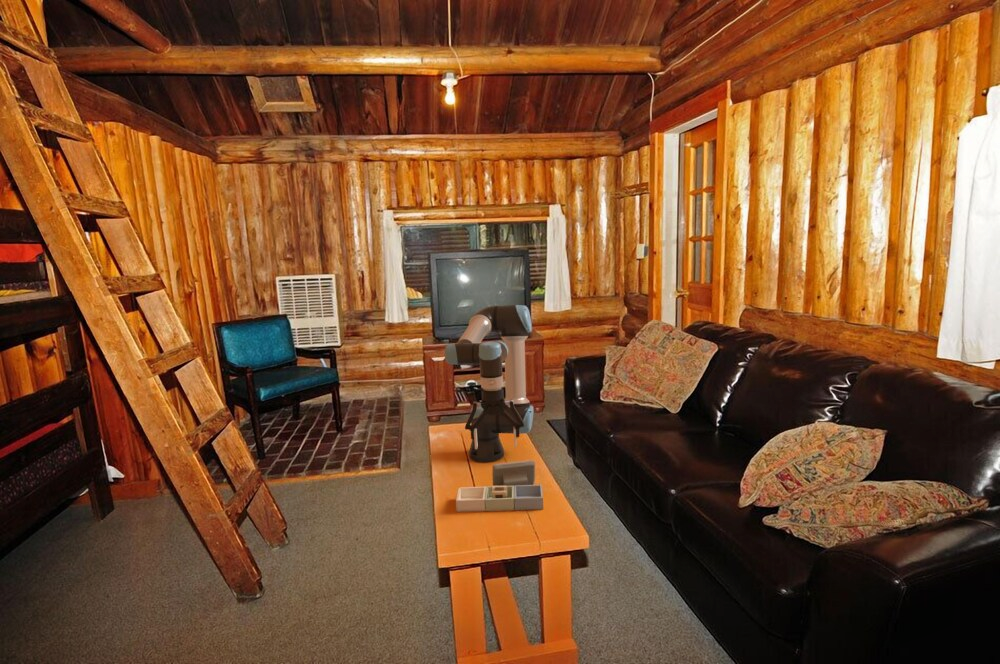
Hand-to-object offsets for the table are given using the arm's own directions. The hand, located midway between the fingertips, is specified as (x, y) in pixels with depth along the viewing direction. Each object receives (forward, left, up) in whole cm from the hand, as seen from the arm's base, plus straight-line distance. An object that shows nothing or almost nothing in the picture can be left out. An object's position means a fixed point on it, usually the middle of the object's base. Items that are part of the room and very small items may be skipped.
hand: (495, 447), depth 183 cm
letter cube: (+1, 0, -20) cm, 20 cm away
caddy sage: (+1, 0, -21) cm, 21 cm away
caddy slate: (+1, +10, -21) cm, 23 cm away
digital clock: (-11, +5, -21) cm, 25 cm away
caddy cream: (+1, -10, -21) cm, 23 cm away
